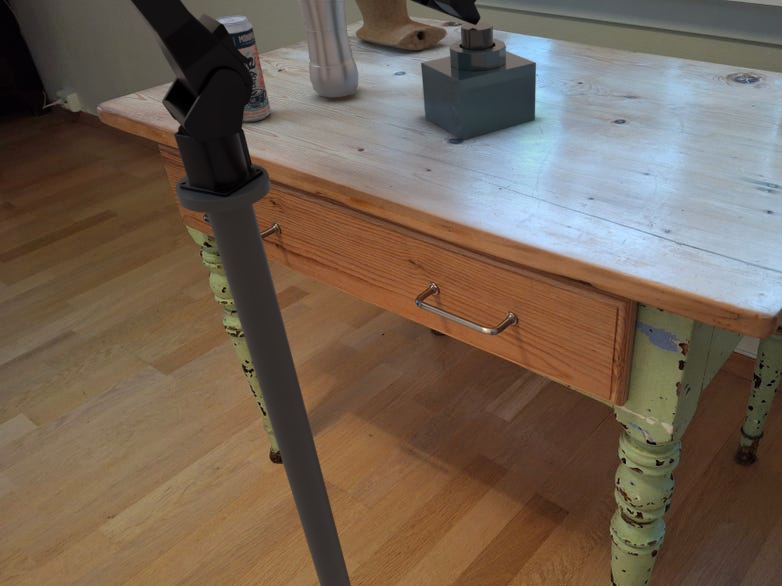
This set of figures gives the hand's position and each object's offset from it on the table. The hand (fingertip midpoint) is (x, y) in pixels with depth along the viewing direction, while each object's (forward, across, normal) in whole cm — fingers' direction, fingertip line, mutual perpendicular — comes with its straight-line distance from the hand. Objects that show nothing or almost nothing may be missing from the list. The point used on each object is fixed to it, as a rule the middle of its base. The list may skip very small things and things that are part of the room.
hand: (476, 21), depth 83 cm
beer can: (-8, +19, +25) cm, 33 cm away
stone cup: (+14, +38, +3) cm, 41 cm away
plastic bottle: (+1, +20, +16) cm, 26 cm away
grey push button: (+2, 0, +2) cm, 3 cm away
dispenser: (+8, 0, +8) cm, 12 cm away
